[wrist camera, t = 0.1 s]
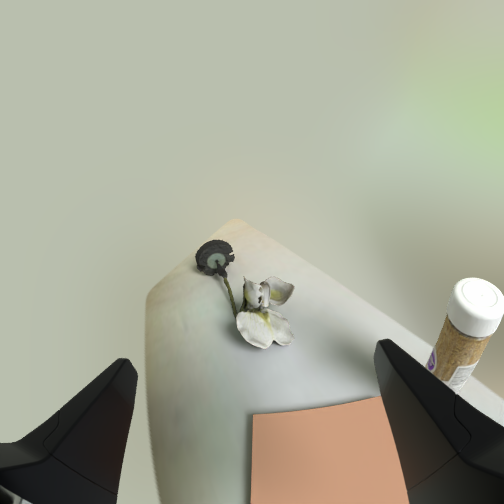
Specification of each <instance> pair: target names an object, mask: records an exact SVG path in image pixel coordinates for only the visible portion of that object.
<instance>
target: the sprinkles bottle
mask: <svg viewBox="0 0 504 504" xmlns="http://www.w3.org/2000/svg"><path fill="white" fill-rule="evenodd" d="M503 313H504V297H503V295H502V293H501V292H500V291H499V289H498V288H497V287H495V286H494V285H493V284H491V283H489V282H487V281H485V280H482V279H478V278H466V279H462V280H460V281H459V282H457V283H456V284H455V286H454V287H453V290H452V293H451V296H450V299H449V303H448V306H447V317H446V319H445V322H444V325H443V328H442V330H441V333H440V335H439V338H438V341H437V343H436V345H435V346H434V348H433V351H432V353H431V355H430V357H429V360H428V362H427V364H426V366H425V368H426V369H427V370H429V371H430V372H431V373H432V374H434V375H435V376H436V377H437V378H438V379H440V380H441V381H442V382H443V383H445V384H446V385H447V386H448V387H449V388H451V389H452V390H453V391H454V392H455V394H458V393H459V391H460V390H461V388H462V387H463V385H464V384H465V382H466V381H467V379H468V378H469V376H470V374H471V373H472V371H473V369H474V368H475V366H476V364H477V363H478V361H479V359H480V357H481V354H482V352H483V350H484V349H485V347H486V345H487V343H488V341H489V339H490V337H491V335H493V333H494V332H495V330H496V329H497V327H498V325H499V323H500V321H501V318H502V316H503Z"/></svg>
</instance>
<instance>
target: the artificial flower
mask: <svg viewBox="0 0 504 504" xmlns="http://www.w3.org/2000/svg"><path fill="white" fill-rule="evenodd" d="M231 252H233V250H232V247H231V245H229V244H228V243H227V242H225V241H222V240H212V241H209V242H207V243H205V244H204V245H202V246H201V247H200V249H199V250H198V251H197V253H196V256H195V258H196V262H197V268H198V270H200V272H201V271H203V272H204V273H205V274H208V275H214V273H218V274H219V276H222V277H223V278H224V283H225V285H226V286H227V288H228V293H229V296H230V300H231V302H232V308H233V311H234V312H233V313H234V315H235V318H236V322H237V328H238V330H239V331H240V333H241V334H242V336H243V337H244V339H245V340H246V341H247V342H249V343H250V344H252V345H254V346H257V347H260V348H262V349H267V348H268V347H269V346H270V345H271V344H272V342H273V340H275V341H276V342H277V343H278V344H280V345H282V346H284V345H288V346H289V344H290V343H291V342H292V340H294V335H293V334H292V332H291V330H290V326H289V322H288V320H287V319H285V318H284V317H283V316H282V315H281V314H280V313H279V312H275V311H272V310H270V309H263V308H262V307H268V305H269V303H270V304H273V305H277V306H280V305H282V304H284V303H285V302H287V301H288V299H289V298H290V297H291V296H292V294H293V292H294V287H295V286H293V285H292V284H289V283H286V282H283V281H282V280H280V279H279V278H276V277H270V278H268V279H267V280H265V281H264V282H261V283H260V285H259V284H256V283H253V282H251V281H248V280H246V279H245V277H244V281H245V284H244V286H243V292H244V293H243V304H242V307H241V309H240V311H239V313H238V314H237V311H236V307H235V303H234V299H233V295H232V291H231V288H230V286H229V283H228V281H227V279H226V278H227V273H226V271H225V268H226V266H227V265H229V262H233V261H234V258H235V256H234V254H233V255H229V253H231Z"/></svg>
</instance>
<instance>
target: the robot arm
mask: <svg viewBox="0 0 504 504" xmlns="http://www.w3.org/2000/svg"><path fill="white" fill-rule="evenodd" d="M374 364H375V368H376V373H377V378H378V383H379V388H380V393H381V398H382V401H383V405H384V408H385V411H386V414H387V418H388V421H389V424H390V428H391V431H392V435H393V438H394V442H395V445H396V449H397V453H398V457H399V461H400V465H401V469H402V473H403V477H404V481H405V486H406V490H407V495H408V500H409V504H504V427H503V426H502V425H500V424H498V423H497V422H495V421H494V420H492V419H491V418H489V417H488V416H486V415H484V414H483V413H482V412H480V411H479V410H477V409H476V408H474V407H473V406H472V405H470V404H469V403H468V402H467V401H465V400H464V399H463V398H462V397H460V396H459V395H458V394H455V392H454V391H453V390H452V389H451V388H449V387H448V386H447V385H446V384H445V383H443V382H442V381H441V380H440V379H438V378H437V377H436V376H435V375H434V374H432V373H431V372H430V371H429V370H427V369H426V368H425V367H424V366H423V365H421V364H420V363H419V362H418V361H416V360H415V359H414V358H413V357H411V356H410V355H409V354H408V353H407V352H405V351H404V350H403V349H402V348H400V347H399V346H398V345H397V344H395V343H394V342H393V341H392V340H390V339H383V340H379V341H378V342H377V345H376V349H375V354H374ZM137 380H138V375H137V371H136V370H135V368H134V367H133V365H132V363H131V362H130V360H129V359H126V358H119V359H117V360H116V361H115V362H114V363H112V364H111V365H110V366H109V367H108V368H107V369H105V370H104V371H103V372H102V373H101V374H100V375H99V376H97V377H96V378H95V379H94V380H93V381H92V382H90V383H89V384H88V385H87V386H86V387H85V388H83V389H82V390H81V391H80V392H79V393H78V394H77V395H76V396H74V397H73V398H72V399H71V400H70V401H69V402H68V403H66V404H65V405H64V406H63V407H62V408H61V409H60V410H58V411H57V412H56V413H55V414H54V415H52V416H51V417H50V418H49V419H48V420H46V421H45V422H44V423H43V424H41V425H40V426H39V427H37V428H36V429H34V430H33V431H32V432H30V433H29V434H27V435H26V436H25V437H23V438H22V439H21V440H18V441H16V442H12V443H0V504H116V503H117V494H118V488H119V481H120V474H121V469H122V463H123V458H124V453H125V448H126V442H127V438H128V433H129V428H130V424H131V419H132V415H133V410H134V403H135V394H136V387H137Z"/></svg>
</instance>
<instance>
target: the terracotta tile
mask: <svg viewBox="0 0 504 504" xmlns="http://www.w3.org/2000/svg"><path fill="white" fill-rule="evenodd" d="M251 504H409V500H408V495H407V490H406V486H405V481H404V477H403V473H402V469H401V465H400V461H399V457H398V453H397V449H396V445H395V442H394V438H393V435H392V431H391V428H390V424H389V421H388V418H387V414H386V411H385V408H384V405H383V401H382V398H381V396H378V397H374V398H369V399H365V400H360V401H356V402H351V403H346V404H340V405H335V406H329V407H323V408H316V409H309V410H301V411H292V412H282V413H270V414H253V437H252V476H251Z"/></svg>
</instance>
